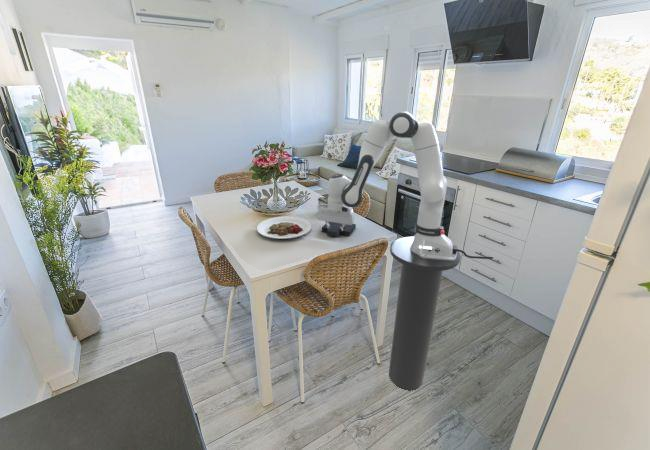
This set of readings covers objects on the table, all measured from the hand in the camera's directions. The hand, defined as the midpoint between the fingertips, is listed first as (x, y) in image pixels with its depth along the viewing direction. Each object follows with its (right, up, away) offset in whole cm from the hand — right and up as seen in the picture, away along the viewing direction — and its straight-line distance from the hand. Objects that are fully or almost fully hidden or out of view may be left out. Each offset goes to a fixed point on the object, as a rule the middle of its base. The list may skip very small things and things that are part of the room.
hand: (335, 229), depth 170 cm
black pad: (+2, 0, +6) cm, 7 cm away
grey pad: (0, -2, +1) cm, 2 cm away
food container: (-4, +9, +30) cm, 31 cm away
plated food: (-28, 0, +5) cm, 29 cm away
